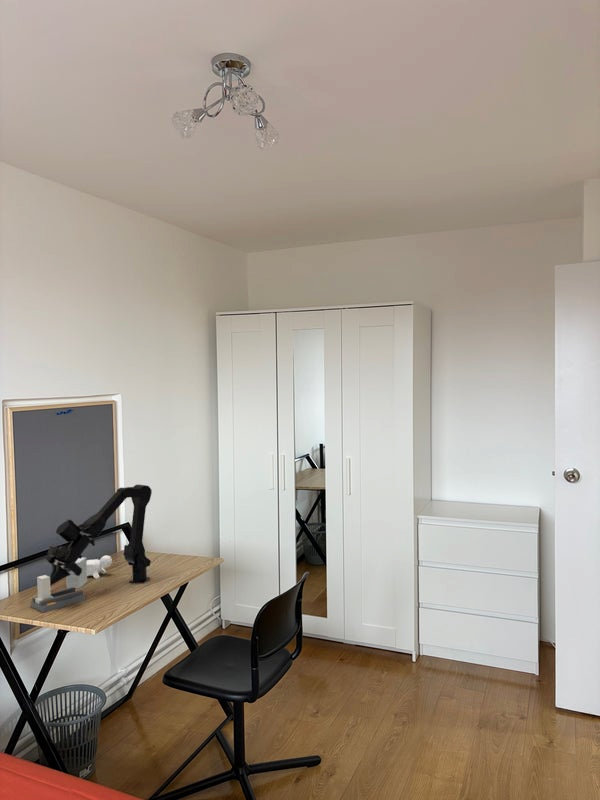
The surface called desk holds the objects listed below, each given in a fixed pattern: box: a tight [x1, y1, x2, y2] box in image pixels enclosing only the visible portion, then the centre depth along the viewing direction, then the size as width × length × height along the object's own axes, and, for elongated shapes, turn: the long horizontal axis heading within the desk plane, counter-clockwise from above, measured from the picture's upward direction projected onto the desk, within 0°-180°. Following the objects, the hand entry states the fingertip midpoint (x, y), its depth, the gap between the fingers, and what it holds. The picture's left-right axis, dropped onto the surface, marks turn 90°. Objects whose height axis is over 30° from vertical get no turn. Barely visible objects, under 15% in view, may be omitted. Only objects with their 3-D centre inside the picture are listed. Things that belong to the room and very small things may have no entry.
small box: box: [65, 557, 88, 589], centre depth 249 cm, size 8×6×10 cm
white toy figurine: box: [86, 555, 113, 580], centre depth 262 cm, size 9×8×15 cm
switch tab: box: [35, 574, 53, 604], centre depth 223 cm, size 5×4×9 cm
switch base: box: [30, 587, 86, 613], centre depth 227 cm, size 16×10×4 cm, turn 137°
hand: (48, 585), depth 225 cm, fingers closed, pressing on switch tab
